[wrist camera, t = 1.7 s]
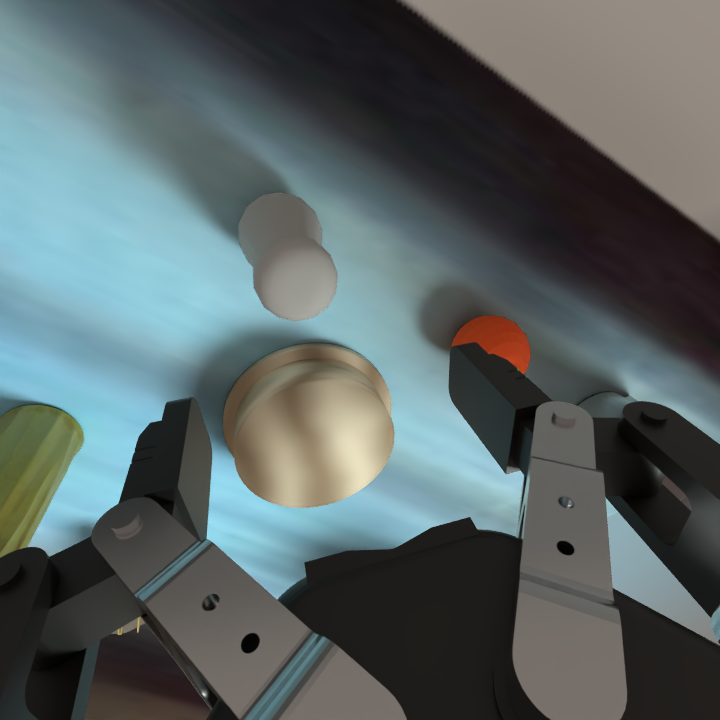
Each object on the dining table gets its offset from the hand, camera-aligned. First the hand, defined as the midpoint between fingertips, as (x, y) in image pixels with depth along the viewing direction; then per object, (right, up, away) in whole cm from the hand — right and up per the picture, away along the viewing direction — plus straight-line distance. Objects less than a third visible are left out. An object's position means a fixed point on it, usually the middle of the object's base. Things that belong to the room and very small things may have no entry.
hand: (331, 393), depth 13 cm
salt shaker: (-5, +11, +19) cm, 22 cm away
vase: (-26, -5, +22) cm, 34 cm away
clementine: (+12, +3, +28) cm, 31 cm away
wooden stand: (-4, -4, +28) cm, 28 cm away
